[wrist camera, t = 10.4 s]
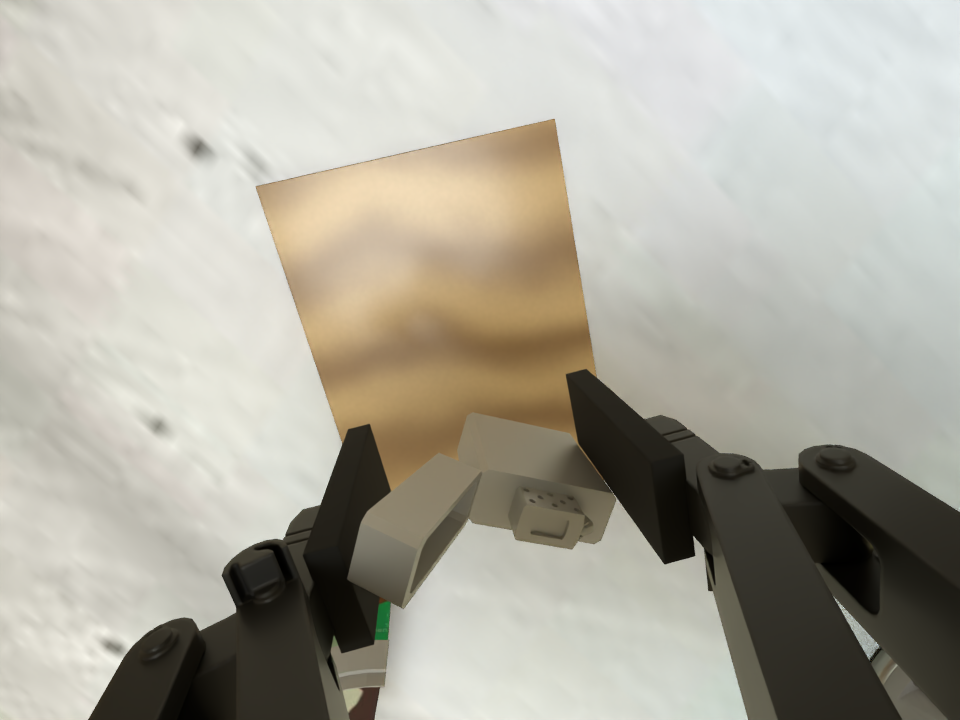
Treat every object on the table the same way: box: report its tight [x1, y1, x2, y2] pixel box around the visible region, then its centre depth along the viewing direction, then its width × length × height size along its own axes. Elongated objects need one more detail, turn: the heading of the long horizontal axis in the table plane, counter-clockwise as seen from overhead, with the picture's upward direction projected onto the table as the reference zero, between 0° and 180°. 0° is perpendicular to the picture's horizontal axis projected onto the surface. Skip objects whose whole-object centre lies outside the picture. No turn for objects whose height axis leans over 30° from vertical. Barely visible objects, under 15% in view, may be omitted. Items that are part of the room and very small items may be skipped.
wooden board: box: [256, 119, 604, 491], centre depth 29 cm, size 22×16×1 cm
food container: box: [330, 597, 391, 720], centre depth 28 cm, size 12×6×10 cm, turn 169°
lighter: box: [347, 412, 616, 609], centre depth 14 cm, size 7×2×8 cm, turn 75°
